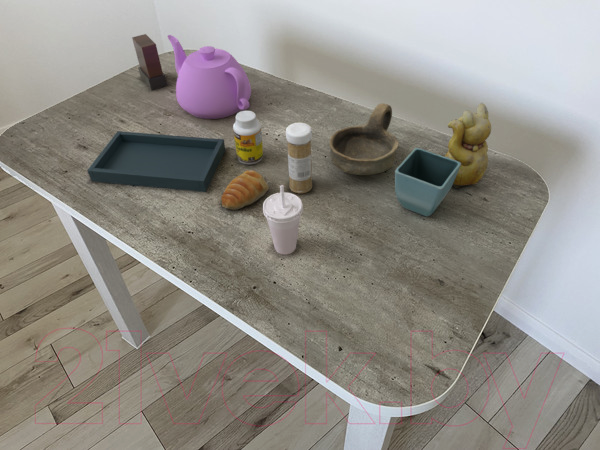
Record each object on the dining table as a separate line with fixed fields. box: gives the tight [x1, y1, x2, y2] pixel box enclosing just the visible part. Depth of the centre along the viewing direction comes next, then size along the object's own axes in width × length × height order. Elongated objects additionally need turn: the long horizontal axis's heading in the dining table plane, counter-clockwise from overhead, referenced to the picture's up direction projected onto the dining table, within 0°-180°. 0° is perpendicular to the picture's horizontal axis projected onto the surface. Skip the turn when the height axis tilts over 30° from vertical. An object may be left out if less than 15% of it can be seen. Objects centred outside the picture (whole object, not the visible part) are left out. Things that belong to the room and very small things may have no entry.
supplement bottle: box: [232, 110, 264, 165], centre depth 98 cm, size 6×6×10 cm
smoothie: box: [262, 184, 304, 256], centre depth 78 cm, size 6×6×14 cm
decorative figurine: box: [444, 102, 492, 189], centre depth 90 cm, size 10×8×15 cm
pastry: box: [220, 169, 269, 211], centre depth 91 cm, size 9×7×4 cm
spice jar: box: [285, 122, 313, 195], centre depth 89 cm, size 5×5×13 cm
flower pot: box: [394, 147, 461, 218], centre depth 87 cm, size 9×9×9 cm
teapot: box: [167, 34, 252, 120], centre depth 113 cm, size 25×18×14 cm
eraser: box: [131, 33, 169, 91], centre depth 122 cm, size 8×4×11 cm, turn 33°
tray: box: [87, 130, 226, 193], centre depth 99 cm, size 24×14×3 cm, turn 81°
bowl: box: [328, 102, 400, 176], centre depth 96 cm, size 14×18×10 cm
